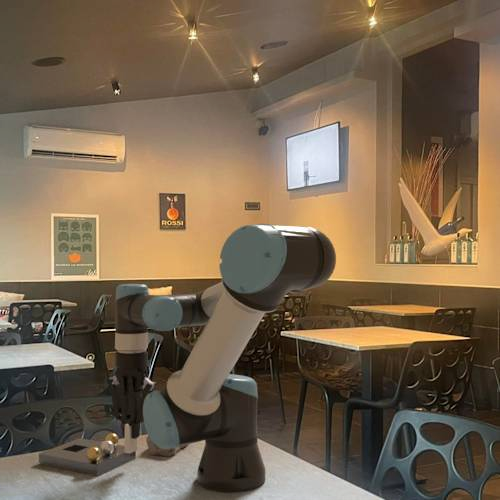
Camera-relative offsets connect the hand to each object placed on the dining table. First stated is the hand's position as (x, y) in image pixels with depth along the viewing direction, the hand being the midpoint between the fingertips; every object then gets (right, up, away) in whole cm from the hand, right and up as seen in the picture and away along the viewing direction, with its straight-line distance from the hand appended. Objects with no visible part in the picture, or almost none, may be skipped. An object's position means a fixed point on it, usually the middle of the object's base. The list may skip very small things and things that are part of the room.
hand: (130, 451), depth 143 cm
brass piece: (-8, 0, -2) cm, 8 cm away
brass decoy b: (-6, 0, +9) cm, 11 cm away
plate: (-11, -4, +6) cm, 14 cm away
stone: (+7, -5, +15) cm, 17 cm away
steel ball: (-6, 0, +3) cm, 7 cm away
